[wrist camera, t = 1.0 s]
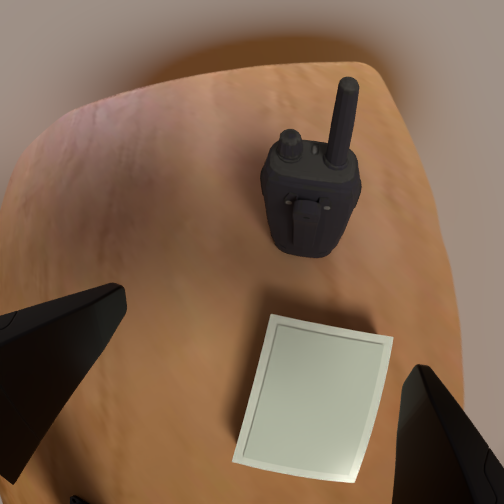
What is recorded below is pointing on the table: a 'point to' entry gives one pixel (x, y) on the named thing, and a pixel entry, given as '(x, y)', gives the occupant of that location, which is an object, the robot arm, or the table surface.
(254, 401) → the sage tile
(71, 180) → the table surface
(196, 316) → the table surface
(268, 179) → the two-way radio
